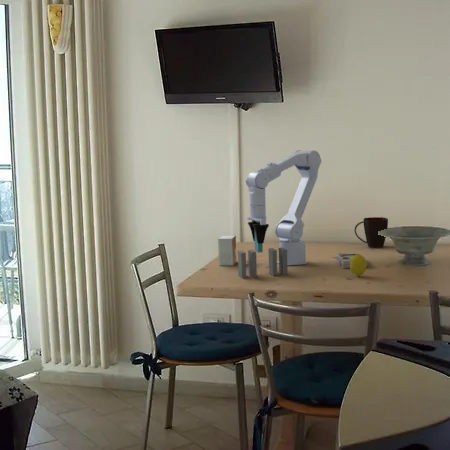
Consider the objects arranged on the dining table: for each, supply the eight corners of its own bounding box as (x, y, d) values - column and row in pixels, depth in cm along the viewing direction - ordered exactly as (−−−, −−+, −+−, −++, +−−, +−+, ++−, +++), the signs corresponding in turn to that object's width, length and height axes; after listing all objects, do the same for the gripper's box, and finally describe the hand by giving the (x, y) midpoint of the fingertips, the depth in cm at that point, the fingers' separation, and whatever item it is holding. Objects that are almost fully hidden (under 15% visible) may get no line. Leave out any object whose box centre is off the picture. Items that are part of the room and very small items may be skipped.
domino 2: (253, 274, 244) (252, 249, 243) (256, 277, 240) (256, 252, 238) (248, 274, 244) (248, 249, 243) (252, 277, 239) (251, 252, 238)
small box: (233, 265, 261) (232, 238, 259) (218, 265, 262) (217, 238, 261) (236, 261, 269) (236, 235, 267) (222, 261, 270) (222, 235, 268)
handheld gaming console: (343, 260, 249) (335, 252, 263) (343, 269, 249) (335, 261, 264) (368, 259, 249) (359, 252, 264) (368, 268, 249) (359, 261, 264)
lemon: (357, 279, 232) (356, 255, 231) (346, 276, 237) (346, 253, 236) (369, 277, 234) (369, 254, 233) (359, 274, 239) (359, 251, 238)
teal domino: (258, 250, 254) (258, 226, 253) (262, 252, 249) (262, 227, 248) (254, 250, 254) (254, 226, 253) (258, 252, 249) (257, 228, 248)
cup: (390, 248, 286) (390, 220, 284) (356, 249, 286) (356, 221, 284) (384, 244, 296) (384, 216, 294) (352, 245, 296) (352, 218, 294)
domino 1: (242, 275, 244) (242, 250, 242) (246, 278, 239) (245, 252, 238) (238, 275, 243) (237, 250, 242) (241, 278, 239) (241, 253, 237)
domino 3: (273, 272, 246) (272, 248, 245) (277, 275, 241) (276, 250, 240) (269, 273, 246) (268, 248, 244) (273, 276, 241) (272, 250, 240)
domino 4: (283, 272, 247) (282, 247, 246) (287, 274, 242) (287, 249, 241) (279, 272, 247) (278, 247, 245) (283, 275, 242) (282, 250, 240)
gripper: (242, 203, 255) (243, 239, 257) (252, 207, 241) (253, 245, 243) (260, 202, 257) (261, 238, 259) (271, 206, 243) (272, 244, 245)
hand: (258, 242), depth 251 cm, fingers closed on teal domino, 5 cm apart
